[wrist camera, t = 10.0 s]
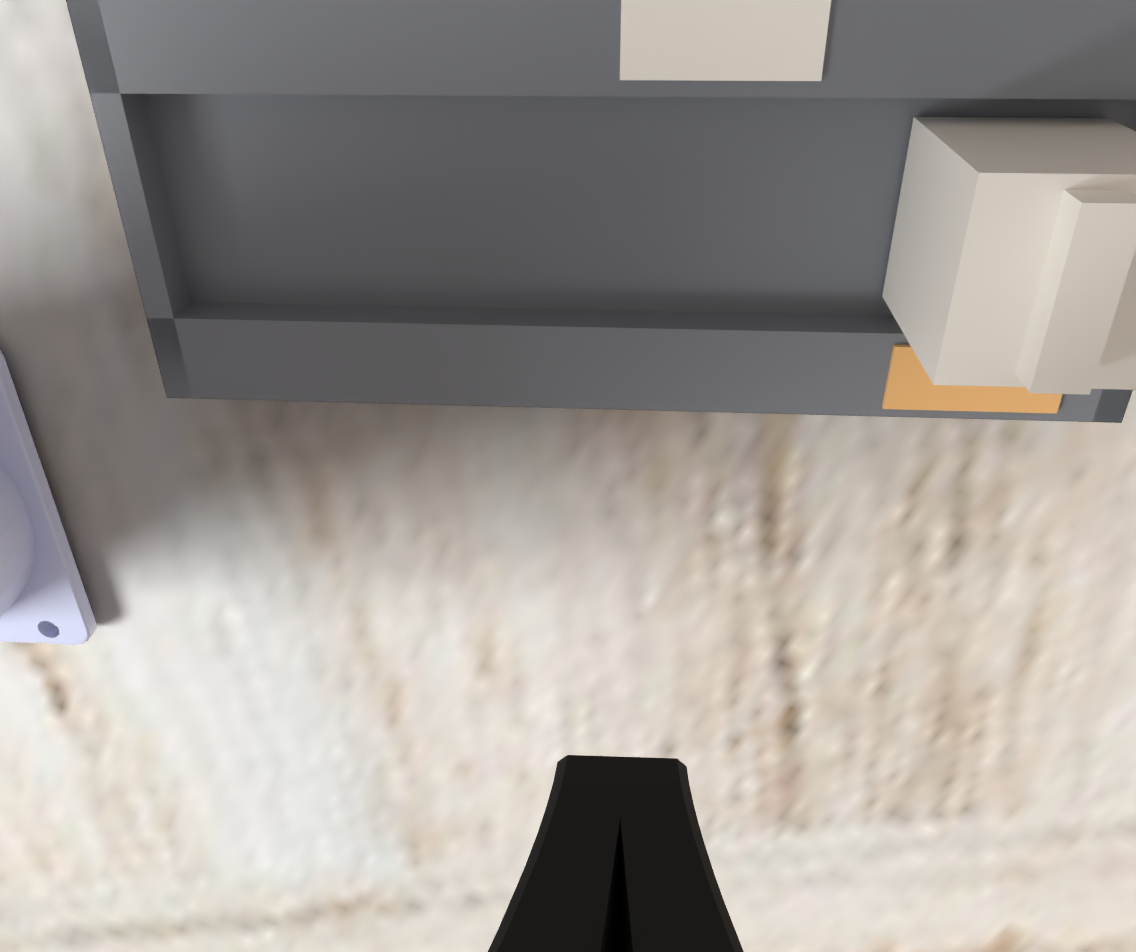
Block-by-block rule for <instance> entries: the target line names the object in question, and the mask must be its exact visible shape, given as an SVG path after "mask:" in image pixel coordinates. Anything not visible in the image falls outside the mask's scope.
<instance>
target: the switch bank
mask: <svg viewBox="0 0 1136 952" xmlns="http://www.w3.org/2000/svg"><path fill="white" fill-rule="evenodd" d="M66 2H67V6H68V10H69V14H70V18H71V22H72V26H73V30H74V34H75V38H76V42H77V46H78V50H79V54H80V58H81V61H82V65H83V69H84V73H85V77H86V81H87V85H88V89H89V93H90V97H91V101H92V105H93V109H94V113H95V117H96V120H97V124H98V128H99V132H100V136H101V140H102V144H103V148H104V152H105V156H106V160H107V164H108V168H109V172H110V176H111V180H112V183H113V187H114V191H115V195H116V199H117V203H118V207H119V211H120V215H121V219H122V223H123V227H124V231H125V235H126V239H127V242H128V246H129V250H130V254H131V258H132V262H133V266H134V270H135V274H136V278H137V282H138V286H139V290H140V294H141V298H142V301H143V305H144V309H145V313H146V317H147V321H148V325H149V329H150V333H151V337H152V341H153V345H154V349H155V353H156V357H157V361H158V364H159V368H160V372H161V376H162V380H163V384H164V388H165V392H166V396H167V398H200V399H238V400H276V401H314V402H352V403H390V404H428V405H467V406H505V407H543V408H581V409H619V410H657V411H695V412H733V413H772V414H810V415H848V416H886V417H924V418H962V419H1000V420H1039V421H1077V422H1115V423H1122V420H1123V417H1124V414H1125V411H1126V408H1127V405H1128V402H1129V399H1130V396H1131V393H1132V390H1123V389H1091V392H1090V395H1084V394H1044V393H1029V392H1028V391H1027V389H1026V388H1025V387H999V386H958V385H933V383H932V382H931V380H930V378H929V377H928V375H927V373H926V371H925V370H924V368H923V366H922V364H921V363H920V361H919V359H918V358H917V356H916V354H915V352H914V351H913V349H912V347H911V345H910V344H909V342H908V340H907V339H906V337H905V335H904V333H903V332H902V330H901V328H900V326H899V325H898V323H897V321H896V319H895V318H894V316H893V314H892V313H891V311H890V309H889V307H888V306H887V304H886V302H885V300H884V299H883V297H882V294H883V289H884V283H885V277H886V271H887V266H888V260H889V254H890V249H891V243H892V237H893V231H894V226H895V220H896V214H897V209H898V203H899V197H900V191H901V186H902V180H903V174H904V169H905V163H906V157H907V151H908V146H909V140H910V134H911V129H912V123H913V117H1026V118H1110V119H1112V120H1114V121H1116V122H1118V123H1120V124H1122V125H1124V126H1126V127H1128V128H1130V129H1132V130H1134V131H1136V0H66Z"/></svg>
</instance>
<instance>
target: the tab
mask: <svg viewBox="0 0 1136 952" xmlns="http://www.w3.org/2000/svg"><path fill="white" fill-rule="evenodd" d="M882 297H883V299H884V300H885V302H886V304H887V306H888V307H889V309H890V311H891V313H892V314H893V316H894V318H895V319H896V321H897V323H898V325H899V326H900V328H901V330H902V332H903V333H904V335H905V337H906V339H907V340H908V342H909V344H910V345H911V347H912V349H913V351H914V352H915V354H916V356H917V358H918V359H919V361H920V363H921V364H922V366H923V368H924V370H925V371H926V373H927V375H928V377H929V378H930V380H931V382H932V383H933V385H958V386H999V387H1025V388H1026V389H1027V391H1028V392H1029V393H1044V394H1084V395H1090V392H1091V389H1123V390H1136V131H1134V130H1132V129H1130V128H1128V127H1126V126H1124V125H1122V124H1120V123H1118V122H1116V121H1114V120H1112V119H1110V118H1026V117H913V123H912V129H911V134H910V140H909V146H908V151H907V157H906V163H905V169H904V174H903V180H902V186H901V191H900V197H899V203H898V209H897V214H896V220H895V226H894V231H893V237H892V243H891V249H890V254H889V260H888V266H887V271H886V277H885V283H884V289H883V294H882Z"/></svg>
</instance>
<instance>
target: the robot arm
mask: <svg viewBox="0 0 1136 952" xmlns="http://www.w3.org/2000/svg"><path fill="white" fill-rule="evenodd" d="M50 622H52V623H53V624H55V625H56V626H54V625H53V624H51V623H50ZM95 629H96V621H95V618H94V615H93V612H92V609H91V606H90V604H89V601H88V598H87V595H86V592H85V589H84V586H83V583H82V580H81V578H80V575H79V572H78V569H77V566H76V563H75V560H74V557H73V554H72V551H71V549H70V546H69V543H68V540H67V537H66V534H65V531H64V528H63V525H62V523H61V520H60V517H59V514H58V511H57V508H56V505H55V502H54V499H53V496H52V494H51V491H50V488H49V485H48V482H47V479H46V476H45V473H44V470H43V468H42V465H41V462H40V459H39V456H38V453H37V450H36V447H35V444H34V442H33V439H32V436H31V433H30V430H29V427H28V424H27V421H26V418H25V415H24V413H23V410H22V407H21V404H20V401H19V398H18V395H17V392H16V389H15V387H14V384H13V381H12V378H11V375H10V372H9V369H8V366H7V363H6V360H5V358H4V356H3V354H2V352H1V351H0V641H3V642H26V643H49V644H72V645H76V644H83V643H85V642H86V641H88V640H89V638H90V637H91V636H92V634H93V633H94V631H95ZM488 952H743V949H742V947H741V944H740V942H739V939H738V936H737V934H736V931H735V929H734V926H733V924H732V921H731V919H730V916H729V913H728V911H727V908H726V906H725V903H724V901H723V898H722V895H721V892H720V889H719V887H718V884H717V881H716V878H715V875H714V872H713V869H712V866H711V863H710V860H709V857H708V854H707V851H706V847H705V844H704V841H703V838H702V834H701V831H700V827H699V824H698V820H697V816H696V812H695V809H694V805H693V800H692V795H691V791H690V786H689V781H688V774H687V767H686V766H685V765H684V764H683V763H682V762H680V761H679V760H678V759H671V758H640V757H609V756H577V755H567V756H566V757H564V758H563V759H561V760H560V761H559V762H558V763H557V768H556V773H555V777H554V782H553V786H552V790H551V793H550V797H549V800H548V804H547V807H546V810H545V813H544V816H543V819H542V822H541V825H540V828H539V831H538V834H537V837H536V839H535V842H534V845H533V847H532V850H531V853H530V855H529V858H528V861H527V863H526V866H525V868H524V871H523V873H522V875H521V878H520V880H519V882H518V885H517V887H516V889H515V892H514V894H513V896H512V899H511V901H510V903H509V906H508V908H507V910H506V913H505V915H504V917H503V920H502V922H501V924H500V927H499V929H498V931H497V933H496V936H495V938H494V940H493V942H492V944H491V946H490V948H489V950H488Z"/></svg>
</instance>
